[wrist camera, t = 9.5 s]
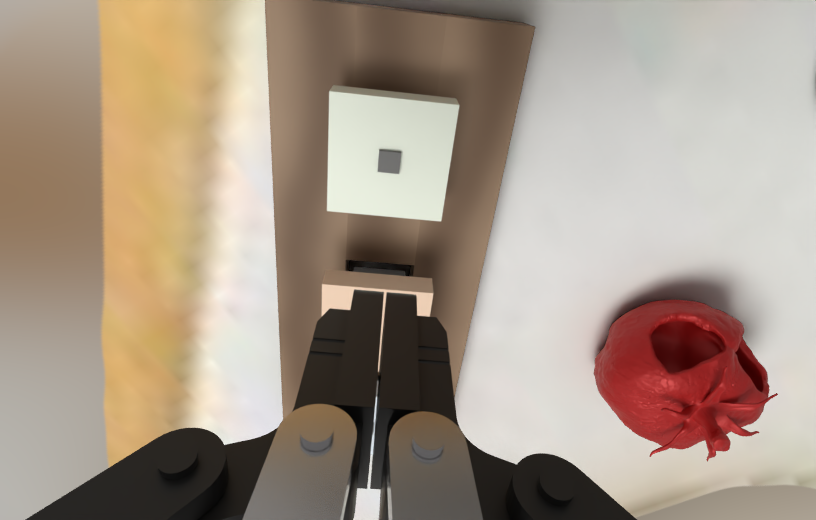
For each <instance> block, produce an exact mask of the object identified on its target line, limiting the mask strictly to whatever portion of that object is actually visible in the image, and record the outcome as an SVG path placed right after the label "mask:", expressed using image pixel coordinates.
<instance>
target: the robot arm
mask: <svg viewBox="0 0 816 520" xmlns="http://www.w3.org/2000/svg"><path fill="white" fill-rule="evenodd" d="M383 298H384V292H379V291H368V290H356V289H354V292H353V298H352V303H351V309H350V310H343V309H331V308H330V309H329V310H328V311H327V312H326V313H325V314H324V315H323V316H322V317H321V318H320V319H319V320H318V321H317V324H316V328H315V331H314V335H313V340H312V342H311V346H310V350H309V354H308V357H307V361H306V365H305V368H304V372H303V376H302V380H301V383H300V387H299V391H298V395H297V398H296V402H295V406H294V408H293V411H292V412H291V413H290V414H289V415H288V416H286V417H285V418H284V419H283V421H282V422H281V423H280V425H279V427H278V428H277V429H275V430H274V431H272V432H270V433H268V434H266V435H264V436H261V437H258V438H255V439H251V440H246V441H242V442H237V443H232V444H227V445H224V444H223V442H222V441H221V439H220V438H219V437H218V436H217V435H215V434H214V433H212V432H210V431H208V430H205V429H201V428H184V429H178V430H175V431H171V432H169V433H166V434H164V435H162V436H160V437H158V438H156V439H155V440H153V441H152V442H150V443H148V444H147V445H145V446H144V447H142V448H140V449H139V450H137V451H135V452H134V453H132V454H131V455H129V456H127V457H126V458H124V459H123V460H121V461H119V462H118V463H116V464H114V465H113V466H111V467H110V468H108V469H106V470H105V471H103V472H102V473H100V474H98V475H97V476H95V477H94V478H92V479H90V480H89V481H87V482H85V483H84V484H82V485H81V486H79V487H78V488H76V489H74V490H73V491H71V492H69V493H68V494H66V495H64V496H63V497H62V498H60V499H58V500H56V501H55V502H53V503H52V504H50V505H48V506H47V507H45V508H44V509H42V510H40V511H39V512H37V513H35V514H34V515H32V516H31V517H29V518H27V519H26V520H353V518H354V513H355V505H356V495H357V488H365V489H367V483H368V473H369V463H370V453H371V443H372V433H373V423H374V413H375V401H376V388H377V375H378V363H379V350H380V337H381V324H382V311H383ZM448 350H449V347H448V338H447V332H446V330H445V329H444V327H443V326H442V324H441V323H440V321H439V320H438V319H437V317H428V316H417V296H416V295H415V294H404V293H392V292H387V293H386V303H385V313H384V323H383V333H382V343H381V354H380V366H379V379H378V393H377V406H376V420H375V433H374V447H373V460H372V473H371V487H370V489H381V494H380V512H379V520H637V519H635V518H634V517H633V516H632V515H631V514H630V513H629V512H627V511H626V510H625V509H624V508H623V507H622V506H621V505H619V504H618V503H617V502H616V501H615V500H614V499H613V498H612V497H610V496H609V495H608V494H607V493H606V492H605V491H604V490H602V489H601V488H600V487H599V486H598V485H597V484H596V483H594V482H593V481H592V480H591V479H590V478H589V477H588V476H586V475H585V474H584V473H583V472H582V471H581V470H580V469H578V468H577V467H576V466H575V465H573V464H572V463H570V462H568V461H567V460H565V459H563V458H560V457H558V456H555V455H550V454H532V455H530V456H527V457H525V458H524V459H522V460H521V461H520V462H519V463H518V464H517V465H516V464H513V463H511V462H508V461H505V460H502V459H500V458H497V457H494V456H492V455H489V454H487V453H485V452H483V451H482V450H480V449H478V448H477V447H476V446H474V445H473V444H472V443H471V442H470V441H469V440H468V439H467V438H466V437H465V436H464V434H463V433H462V431H461V429H460V428H459V425H458V422H457V418H456V410H455V401H454V392H453V383H452V374H451V365H450V356H449V352H448Z"/></svg>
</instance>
